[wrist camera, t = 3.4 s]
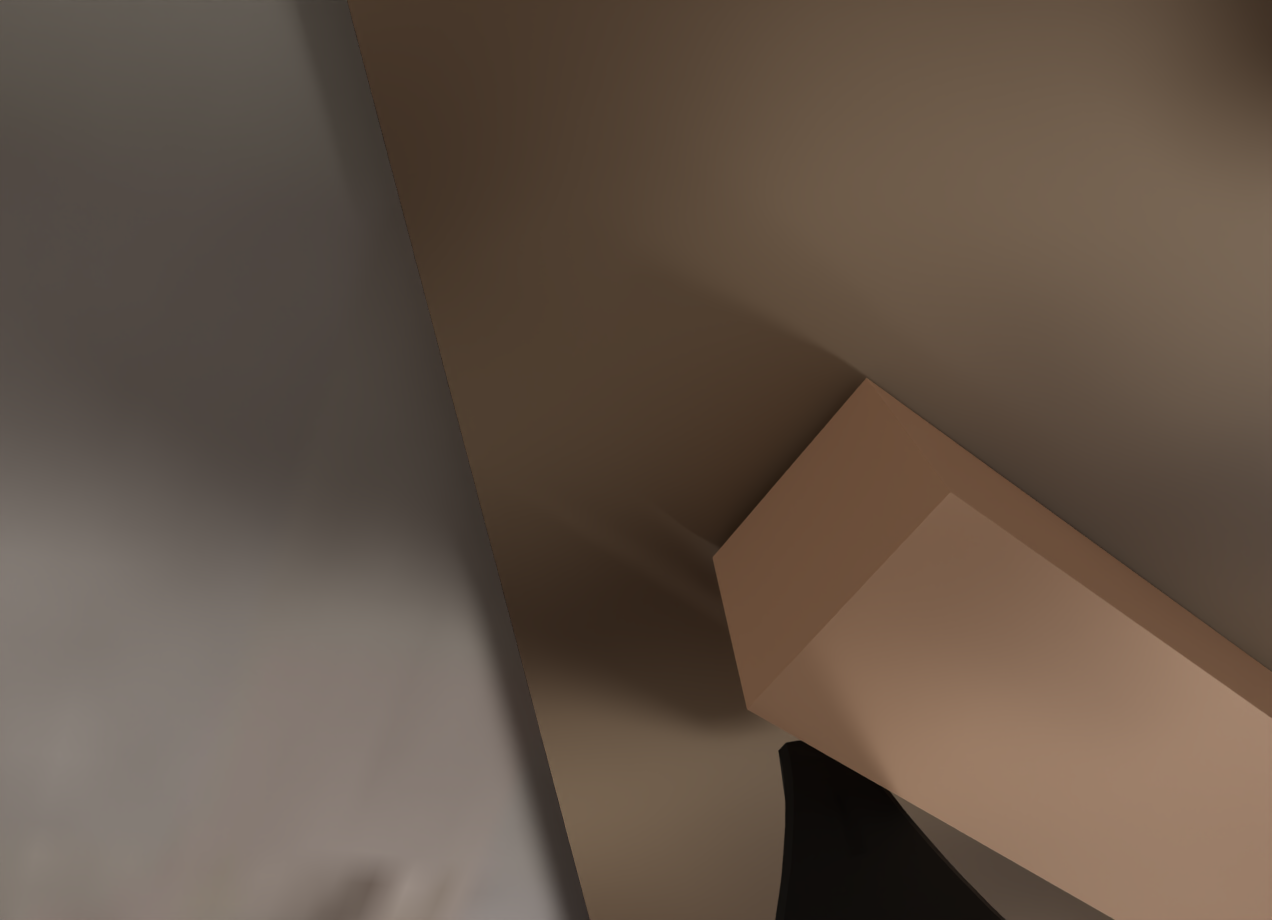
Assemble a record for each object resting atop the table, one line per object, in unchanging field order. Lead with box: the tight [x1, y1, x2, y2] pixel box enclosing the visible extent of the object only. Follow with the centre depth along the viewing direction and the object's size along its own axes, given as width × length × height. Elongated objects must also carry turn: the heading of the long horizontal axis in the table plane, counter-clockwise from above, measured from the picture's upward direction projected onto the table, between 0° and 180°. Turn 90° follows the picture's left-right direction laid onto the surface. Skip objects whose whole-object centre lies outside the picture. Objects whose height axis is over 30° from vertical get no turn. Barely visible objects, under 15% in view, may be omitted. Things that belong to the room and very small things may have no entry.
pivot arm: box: [712, 378, 1272, 920], centre depth 13 cm, size 15×4×4 cm, turn 54°
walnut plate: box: [347, 0, 1272, 920], centre depth 14 cm, size 20×17×1 cm
